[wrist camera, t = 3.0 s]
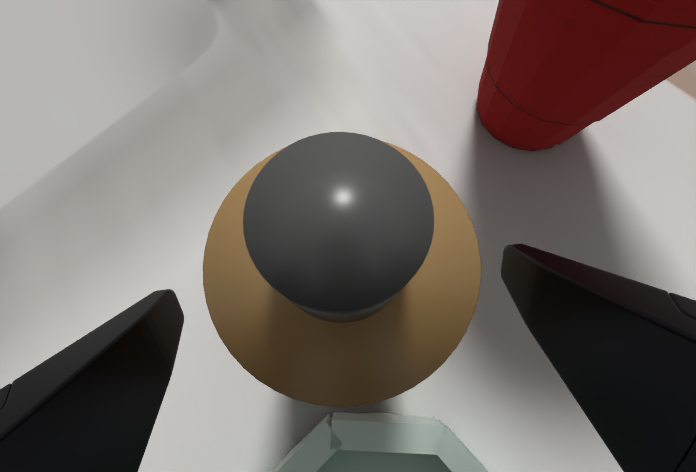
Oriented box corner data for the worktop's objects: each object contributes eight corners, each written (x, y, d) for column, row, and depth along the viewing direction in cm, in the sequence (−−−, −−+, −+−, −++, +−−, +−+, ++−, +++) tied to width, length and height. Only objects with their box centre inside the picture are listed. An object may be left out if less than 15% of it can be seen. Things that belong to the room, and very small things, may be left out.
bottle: (397, 369, 16) (570, 452, 4) (290, 364, 16) (88, 426, 4) (397, 264, 17) (517, 62, 5) (299, 259, 18) (179, 50, 5)
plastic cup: (391, 110, 20) (447, -195, 9) (505, 13, 23) (665, -330, 11) (543, 235, 18) (888, 39, 6) (653, 112, 20) (1052, -194, 9)
